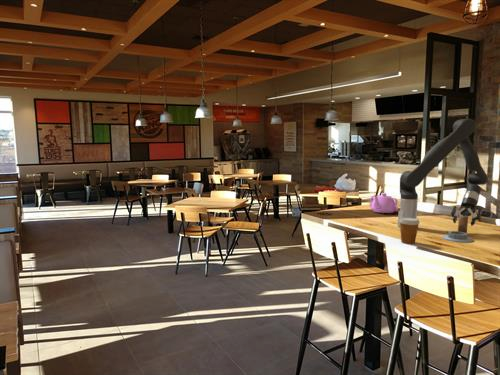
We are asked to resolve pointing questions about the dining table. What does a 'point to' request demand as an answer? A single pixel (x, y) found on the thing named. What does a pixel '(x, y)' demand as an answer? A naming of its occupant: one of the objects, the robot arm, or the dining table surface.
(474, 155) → the robot arm
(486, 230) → the dining table surface
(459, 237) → the ring socket
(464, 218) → the walnut plug
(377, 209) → the teapot
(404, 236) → the disposable coffee cup
